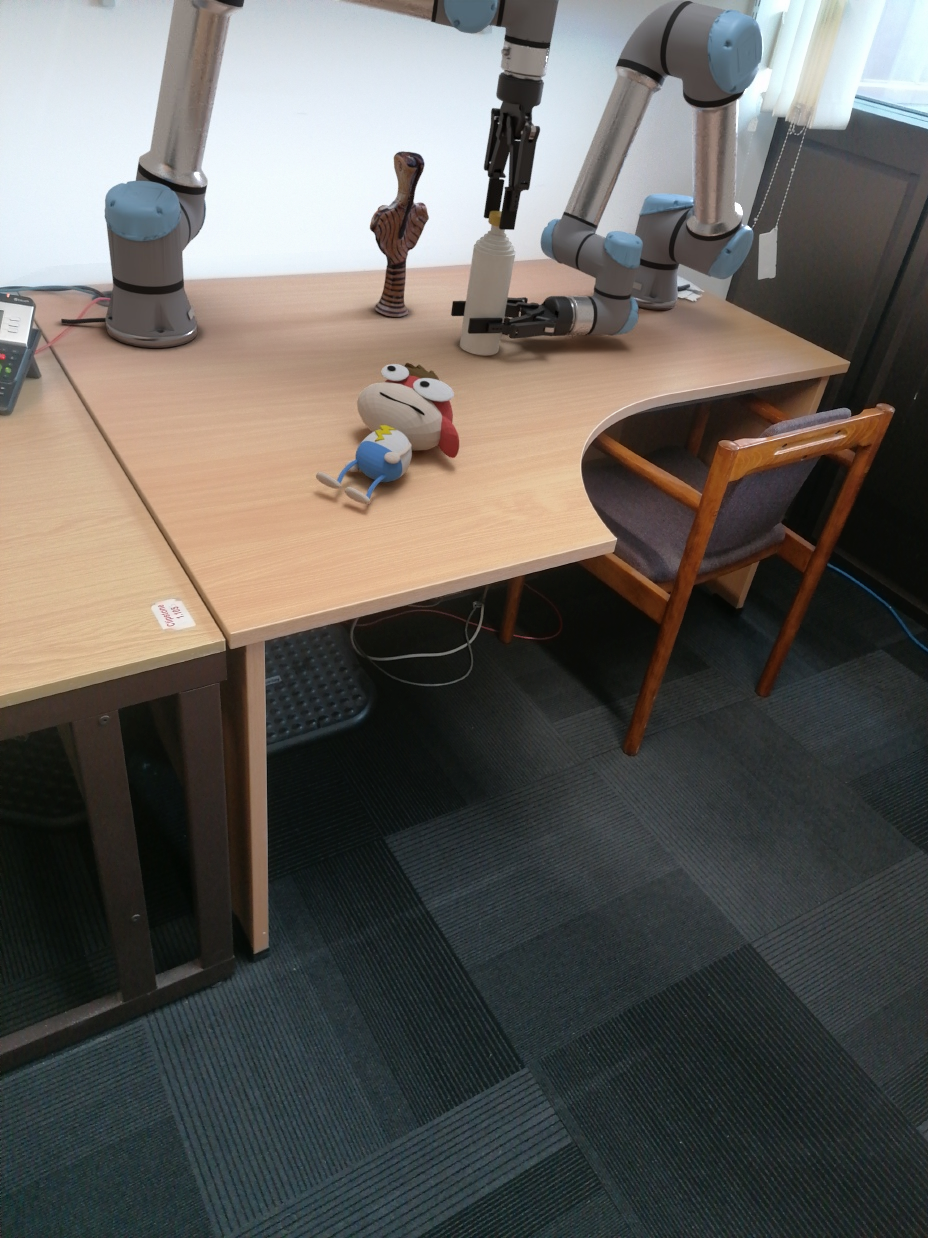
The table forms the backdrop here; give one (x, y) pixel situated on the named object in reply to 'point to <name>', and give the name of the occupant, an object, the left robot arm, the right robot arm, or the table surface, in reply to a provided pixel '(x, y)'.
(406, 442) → the toy
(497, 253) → the bottle
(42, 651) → the table surface
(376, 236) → the figurine
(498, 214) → the cap
